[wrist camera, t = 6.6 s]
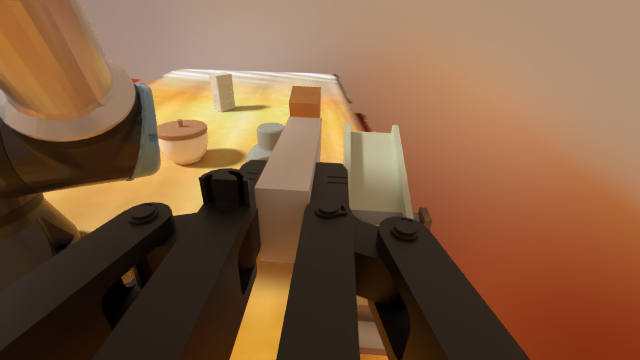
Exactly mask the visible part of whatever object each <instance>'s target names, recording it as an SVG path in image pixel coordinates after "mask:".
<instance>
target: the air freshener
mask: <svg viewBox="0 0 640 360" xmlns="http://www.w3.org/2000/svg"><path fill="white" fill-rule="evenodd" d="M284 127H285V126H283V125H282V124H278V123H265V124H261V125H259V126H258V127H257V138H258V144H257V145H255V146H254V147H253V148H251V150H250V151H249V152H248V155H247V162H248V161H250V160H251V159H252V160H269V158H270V155H271V153H272V151H273V149H274V147H275V145H276V143H277V141H278V139H279V137H280V135H281V133H282V131H283V129H284Z"/></svg>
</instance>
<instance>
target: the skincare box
mask: <svg viewBox="0 0 640 360" xmlns="http://www.w3.org/2000/svg"><path fill="white" fill-rule="evenodd" d="M209 76H210V83H211V89H212V96H213V102H214V109H215V110H217V111H220V112H224V111H228V110H232V109H235V101H234V92H233V84H232V75H231V74H229V73H225V72H223V73H216V74H209Z"/></svg>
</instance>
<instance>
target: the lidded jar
mask: <svg viewBox="0 0 640 360" xmlns="http://www.w3.org/2000/svg"><path fill="white" fill-rule="evenodd" d="M157 132H158V140H159V147H160V149H161V151H162V153H163V154H164V155H165V156H166V157H167V158H168V159H170V160H172V161H173V162H174V163H175V164H179V165H187V164H193V163H196V162H198V161H199V160H200V159H201V157H202V156H203V155H204V153H205V152H206V150H207V146H208V133H207V125H206V124H205V123H204V122H201V121H196V120H182V119H179V120H177V121H171V122H167V123H164V124H161V125H159V126H157Z"/></svg>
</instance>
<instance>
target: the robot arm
mask: <svg viewBox="0 0 640 360" xmlns="http://www.w3.org/2000/svg"><path fill="white" fill-rule="evenodd" d="M321 124H322V118H308V117H289V119H288V121H287V123H286V125H285V127H284V129H283V131H282V133H281V135H280V137H279V139H278V141H277V143H276V145H275V147H274V149H273V151H272V153H271V155H270V158H269V160H252V159H251V160H250V161H248V162H247V163H245V164H243V165H242V166H241V168H240V169H239V170H238V169H232V168H228V169H218V170H213V171H210V172H208V173H205V174H204V175H202V176H201V177H200V178H199V181H200V187H201V192H202V197H203V203H204V204H203V205H202V207H201V208H200V210H199V211H198V212H197V213H192V214H184V215H177V216H173V214H172V210H171V209H170V207H169V206H168V205H166V204H163V203H155V202H152V203H143V204H140V205H137V206H134V207H131V208H130V209H128V210H126V211H124V212H122V213H121V214H119V215H117V216H116V217H114V218H113V219H111V220H110V221H108V222H107V223H105V224H104V225H102V226H100V227H99V228H97V229H96V230H94V231H93V232H91V233H90V234H88V235H86V236H85V237H83V238H81V236H80V233H79V231H78V229H77V228H76V226H75V225H74V224H73V223H72V222H71V221H69V220H68V219H67V218H66V217H65V216H64V215H63V214H61V213H60V212H59V211H58V210H57V209H56V208H55V207H54V206H52V205H51V204H50V203H49V202H48V201H47V200H46V199H45V198H44V196H43V194H42V193H44V192H50V191H56V190H63V189H69V188H76V187H83V186H89V185H96V184H102V183H109V182H116V181H124V180H126V181H132V180H134V179H135V178H140V177H145V176H150V175H153V174H155V173H156V172H157V171H158V170H159V168H160V165H161V159H160V148H159V140H158V132H157V122H156V115H155V108H154V101H153V95H152V90H151V89H150V87H148V86H147V85H141V84H139V83H133V82H132V80H131V78H130V76H129V75H128V74H127V72H126V71H125V70H124V69H123V68H121V67H120V66H119V65H117V64H116V63H114V62H112V61H110V60H108V59H106V57H105V55H104V53H103V50H102V48H101V46H100V43H99V41H98V39H97V36H96V34H95V31H94V29H93V27H92V24H91V22H90V20H89V17H88V15H87V13H86V10H85V8H84V6H83V3H82V1H81V0H0V360H229V359H230V356H231V353H232V350H233V347H234V344H235V340H236V337H237V334H238V331H239V328H240V325H241V322H242V318H243V315H244V312H245V309H246V306H247V303H248V300H249V296H250V293H251V290H252V287H253V284H254V281H255V278H256V274H257V264H256V259H257V256H258V253H259V250H260V259H261V261H264V262H279V263H293V264H294V268H293V274H292V279H291V284H290V290H289V295H288V300H287V306H286V311H285V316H284V322H283V327H282V332H281V338H280V343H279V348H278V354H277V359H276V360H360V350H359V331H358V313H357V296H360V297H362V298H365V299H367V300H368V306H369V308H370V311H371V314H372V316H373V319H374V322H375V324H376V327H377V330H378V332H379V335H380V338H381V340H382V343H383V346H384V348H385V351H386V354H387V356H388V359H389V360H530V359H529V358H528V356H527V355H526V354H525V352H524V351H523V350H522V349H521V347H520V346H519V345H518V343H517V342H516V341H515V340H514V338H513V337H512V336H511V335H510V333H509V332H508V331H507V329H506V328H505V327H504V325H503V324H502V323H501V322H500V320H499V319H498V318H497V317H496V315H495V314H494V313H493V311H492V310H491V309H490V308H489V306H488V305H487V304H486V302H485V301H484V300H483V299H482V298H481V296H480V295H479V293H478V292H477V291H476V290H475V288H474V287H473V286H472V285H471V283H470V282H469V281H468V279H467V278H466V277H465V275H464V274H463V273H462V272H461V270H460V269H459V268H458V267H457V265H456V264H455V263H454V262H453V260H452V259H451V258H450V256H449V255H448V254H447V252H446V251H445V250H444V249H443V247H442V246H441V245H440V243H439V242H438V241H437V240H436V238H435V237H434V236H433V234H432V233H431V232H430V231H429V229H428V228H426V227H425V226H424V225H423V224H422V223H420V222H418V221H416V220H414V219H411V218H407V217H400V216H394V217H389V218H386V219H384V220H383V221H381V222H380V225H379V226H376V225H373V224H369V223H366V222H364V221H362V220H360V219H358V218H357V217H355V216H354V215H353V214H352V211H351V209H350V207H349V189H348V170H347V169H346V168H345V167H344V165H343V164H340V163H322V162H320V151H321ZM130 269H131V270H132V273H133V275H134V279H133V280H132V281H131V282H129V283H127V284H124V283H123V281H122V278H121V277H122V276H123V275H124V274H126V273H127V272H128V271H129V270H130Z"/></svg>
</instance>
